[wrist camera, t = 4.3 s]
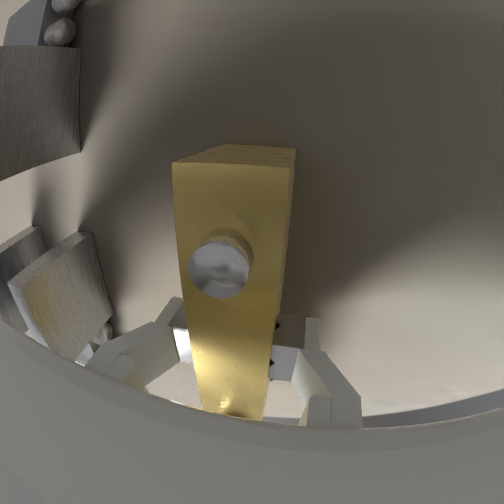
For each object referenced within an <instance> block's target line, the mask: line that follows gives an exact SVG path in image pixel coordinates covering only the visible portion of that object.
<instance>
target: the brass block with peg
mask: <svg viewBox="0 0 504 504" xmlns="http://www.w3.org/2000/svg"><path fill="white" fill-rule="evenodd" d="M295 156H296V148H286V147H274V146H259V145H239V144H223V145H220V146H217V147H214V148H211V149H208V150H205V151H202V152H199V153H196V154H193V155H191V156H188V157H185V158H182V159H180V160H177V161H174V162H172V184H173V202H174V216H175V229H176V240H177V250H178V260H179V269H180V277H181V286H182V293H183V301H184V308H185V315H186V321H187V328H188V334H189V340H190V346H191V351H192V357H193V362H194V368H195V373H196V378H197V383H198V388H199V392H200V397H201V402H202V406H203V409H204V410H208V411H212V412H216V413H221V414H225V415H230V416H235V417H240V418H246V419H252V420H258V421H262V418H263V413H264V408H265V403H266V398H267V393H268V388H269V383H270V378H268V373H269V366H270V360H271V351H272V344H273V338H274V333H275V330H276V322H277V316H278V314H279V313H280V305H281V297H282V289H283V281H284V272H285V263H286V254H287V245H288V235H289V225H290V215H291V204H292V193H293V181H294V169H295Z"/></svg>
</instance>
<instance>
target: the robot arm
mask: <svg viewBox="0 0 504 504" xmlns="http://www.w3.org/2000/svg"><path fill="white" fill-rule="evenodd" d="M179 361H182V362H187V363H192V364H194V362H193V357H192V351H191V346H190V340H189V334H188V328H187V321H186V315H185V308H184V301H183V298H180V297H175V296H174V297H172V298H171V299H170V301H169V302H168V304H167V305H166V306H165V308H164V309H163V311H162V312H161V314H160V315H159V317H158V318H157V320H156V321H155V322H149V323H147V324H145V325H143V326H141V327H139V328H136V329H134V330H132V331H130V332H128V333H126V334H123V335H121V336H119V337H117V338H115V339H113V340H110V341H108V342H106V343H104V344H102V345H100V347H99V348H98V349H97V351H96V352H95V353H94V354H93V356H92V357H91V358H90V360H89V361H88V362H87V364H86V365H85V367H84V366H81V365H79V364H77V363H75V362H73V361H71V360H69V359H68V358H66V357H64V356H62V355H60V354H58V353H56V352H54V351H53V350H51V349H49V348H47V347H46V346H44V345H42V344H41V343H39V342H37V341H36V340H34V339H32V338H31V337H29V336H27V335H26V334H24V333H23V332H21V331H20V330H18V329H17V328H15V327H14V326H12V325H11V324H9V323H8V322H7V321H5V320H4V319H2V318H1V317H0V504H504V407H502V408H499V409H495V410H492V411H488V412H484V413H480V414H476V415H472V416H468V417H463V418H458V419H453V420H447V421H442V422H435V423H428V424H420V425H411V426H400V427H384V428H362V410H361V397H360V395H359V394H358V393H357V392H356V390H355V389H354V388H353V387H352V385H351V384H350V383H349V382H348V380H347V379H346V378H345V377H344V376H343V374H342V373H341V372H340V371H339V369H338V368H337V367H336V366H335V364H334V363H333V362H332V361H331V359H330V358H329V357H328V356H327V354H326V353H325V352H324V351H320V319H319V318H312V317H299V316H291V315H283V314H278V316H277V322H276V330H275V333H274V338H273V344H272V351H271V360H270V366H269V373H268V378H271V379H277V380H283V381H290V382H291V384H292V386H293V388H294V390H295V392H296V394H297V395H298V397H299V399H300V401H301V403H302V405H303V407H304V409H305V410H304V412H303V414H302V417H301V419H300V422H299V424H298V426H297V425H287V424H279V423H271V422H264V421H258V420H252V419H246V418H240V417H235V416H230V415H225V414H221V413H216V412H212V411H208V410H204V409H200V408H196V407H192V406H188V405H185V404H181V403H178V402H174V401H171V400H168V399H164V398H161V397H158V396H155V395H152V394H149V392H148V390H147V388H146V385H147V384H148V383H150V382H151V381H153V380H154V379H156V378H157V377H159V376H160V375H161V374H163V373H164V372H166V371H167V370H168V369H170V368H171V367H173V366H174V365H175V364H177V363H178V362H179Z"/></svg>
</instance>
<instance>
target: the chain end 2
mask: <svg viewBox="0 0 504 504" xmlns="http://www.w3.org/2000/svg"><path fill="white" fill-rule="evenodd" d="M113 313H114V312H113V309H112V306H111V303H110V300H109V297H108V293H107V290H106V286H105V283H104V279H103V276H102V272H101V268H100V264H99V260H98V256H97V252H96V248H95V243H94V239H93V234H92V233H86V232H78V231H77V232H75V233H74V234H72V235H71V236H69V237H68V238H66V239H65V240H63V241H62V242H60V243H59V244H57V245H56V246H54V247H53V248H52V249H50V250H49V251H47V250H46V246H45V243H44V239H43V235H42V231H41V227H38V226H30V227H28V228H26V229H25V230H23V231H21V232H20V233H18V234H17V235H15V236H14V237H12V238H10V239H9V240H7V241H6V242H4V243H3V244H1V245H0V317H1V318H2V319H4V320H5V321H7V322H8V323H9V324H11V325H12V326H14V327H15V328H17V329H18V330H20V331H21V332H23V333H24V334H25V332H26V331H27V330H28V329H29V330H30V332H31V334H32V336H33V337H34V339H35V340H36V341H37V342H39V343H41V344H42V345H44V346H46V347H47V348H49V349H51V350H53V351H54V352H56V353H58V354H60V355H62V356H64V357H66V358H68V359H69V360H71V361H73V362H75V361H77V362H79V363H81V364H84V365H86V364H87V362H88V361H89V360H90V358H91V357H92V356H93V354H94V353H95V352H96V351H97V349H98V348H99V347H100V345H102V344H104V343H106V342H108V341H110V340H113V339H112V335H113V331H112V327H111V325H110V324H108V323H106V322H107V320H108V319H109V318H110V317H111V316H112V315H113Z"/></svg>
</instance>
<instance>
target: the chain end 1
mask: <svg viewBox="0 0 504 504" xmlns="http://www.w3.org/2000/svg"><path fill="white" fill-rule="evenodd" d="M80 2H81V0H30V1H29V2H27V3H26V4H25V5H24V6H23V7H22V8H20V9H19V10H18V11H17V12H16V13H15V14H14V15H13V16H11V17H10V18H9V21H8V25H7V29H6V34H5V37H4V44H3V46H0V181H2V180H4V179H7V178H9V177H11V176H14V175H16V174H19V173H21V172H23V171H26V170H29V169H31V168H34V167H37V166H39V165H42V164H45V163H48V162H51V161H54V160H57V159H60V158H63V157H66V156H69V155H72V154H76V153H79V152H81V149H80V132H79V79H80V63H81V52H82V49H76V48H69V42H70V41H71V40H72V39H73V38H74V36H75V31H76V28H75V24H74V22H73V17H74V12H75V7H76V6H78V5H79V4H80Z"/></svg>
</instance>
